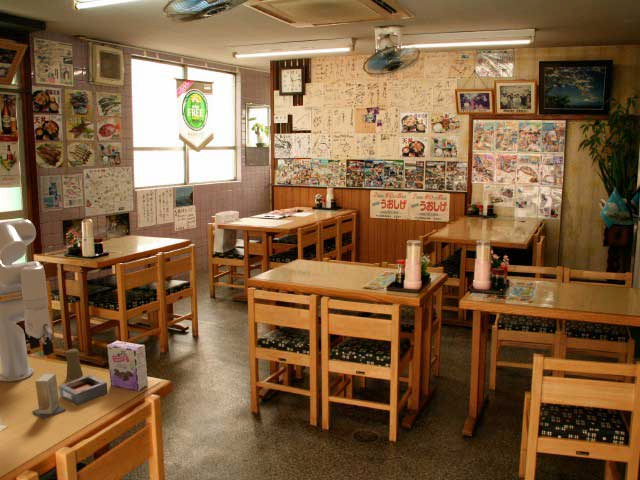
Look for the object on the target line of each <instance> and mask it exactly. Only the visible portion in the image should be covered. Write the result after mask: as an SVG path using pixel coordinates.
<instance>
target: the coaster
mask: <svg viewBox="0 0 640 480" xmlns="http://www.w3.org/2000/svg"><path fill="white" fill-rule="evenodd" d="M66 411H67V408H65V407H63V406H62V405H60V406H59V407H58V408H57V409H56V410H55V411H54V412H53V413H52V414H40V412H39V408H37V409H34V410H32V414H34V415H36V416H37V417H39V418H40V419H42V420H45V419H46V420H47V418H51V417H53V416H56V415H58V414H61V413H64V412H66Z"/></svg>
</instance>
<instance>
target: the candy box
mask: <svg viewBox="0 0 640 480" xmlns="http://www.w3.org/2000/svg"><path fill="white" fill-rule="evenodd" d="M106 349H107V350H106V351H107V359H108V368H109V370H108V371H109V380H110V386H111V387H115V386H116V387H115V388H120V387H121V389H124V388H126V389H125V390H129V389H130V390H131V391H134V390H135V392H139V391H142V390H143V389H145V388H147V387H148V386H149V383H148V370H147V358H146V355H147V354H146V346H145V344H139V343H133V342H126V341H120V340H116V341H114V342H113V341H112V343H109V344H106Z"/></svg>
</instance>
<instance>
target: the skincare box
mask: <svg viewBox="0 0 640 480" xmlns="http://www.w3.org/2000/svg"><path fill="white" fill-rule="evenodd" d="M57 382H58V381H57V375H56V373H43V374H42V375H41V376H40V377H38V378H37V379H36V380H35V388H36V389H35V390H36V397H37V404H38V409H39V412H40V414H52V413H53V412H54V411H55V410H56V409H57V408H58V407H59V406H61V405H60V404H61V403H60V398H59V397H60V395H59V390H58V389H59V388H58V383H57Z"/></svg>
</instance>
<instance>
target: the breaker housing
mask: <svg viewBox="0 0 640 480" xmlns="http://www.w3.org/2000/svg"><path fill="white" fill-rule="evenodd" d="M87 384H88V385H90V386H92V387H89V388H86V389H84V390H81V391H78V392H77V391H75V390H73V389H76V388H78V387H81V386H84V385H87ZM58 387H59V388H58V389H59V397H60V398H61V399H63V400H64V401H67V403H70V404H72V405H74V406H76V407H79V406H82V405H83V404H87V403H89V402H91V401H94V400H96V399H99V398H102V397H104V396H107V395H108V394H109V391H108V383H107V382H106V381H104V380H102V379H100V378H98V377H95V376H94V375H91V374H88V375H85V376H82V377H80V378H77V379H73V380H71V381H69V382H65V383H63V384H61V385H58Z"/></svg>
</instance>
